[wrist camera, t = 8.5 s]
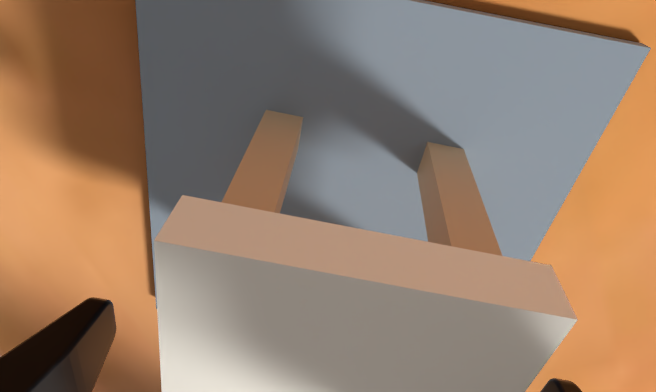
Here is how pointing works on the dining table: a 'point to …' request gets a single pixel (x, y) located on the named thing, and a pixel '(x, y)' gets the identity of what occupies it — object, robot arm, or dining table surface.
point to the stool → (347, 290)
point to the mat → (376, 105)
